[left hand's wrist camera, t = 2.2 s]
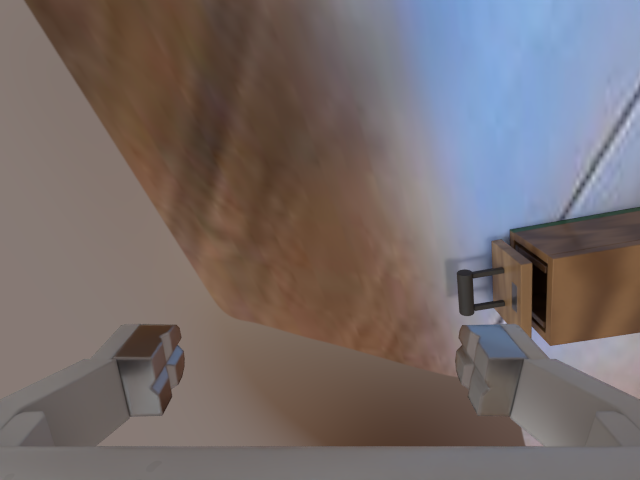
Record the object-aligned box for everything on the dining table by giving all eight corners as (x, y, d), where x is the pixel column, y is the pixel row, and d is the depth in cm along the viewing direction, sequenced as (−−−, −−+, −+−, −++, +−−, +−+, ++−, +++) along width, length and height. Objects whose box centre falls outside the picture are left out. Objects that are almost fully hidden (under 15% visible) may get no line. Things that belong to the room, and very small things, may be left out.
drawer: (452, 313, 48) (473, 347, 42) (447, 248, 45) (469, 273, 38) (645, 282, 47) (698, 312, 40) (654, 212, 43) (715, 232, 37)
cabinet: (510, 304, 49) (550, 346, 40) (509, 229, 45) (553, 259, 37) (670, 278, 47) (746, 316, 39) (683, 199, 44) (770, 222, 35)
